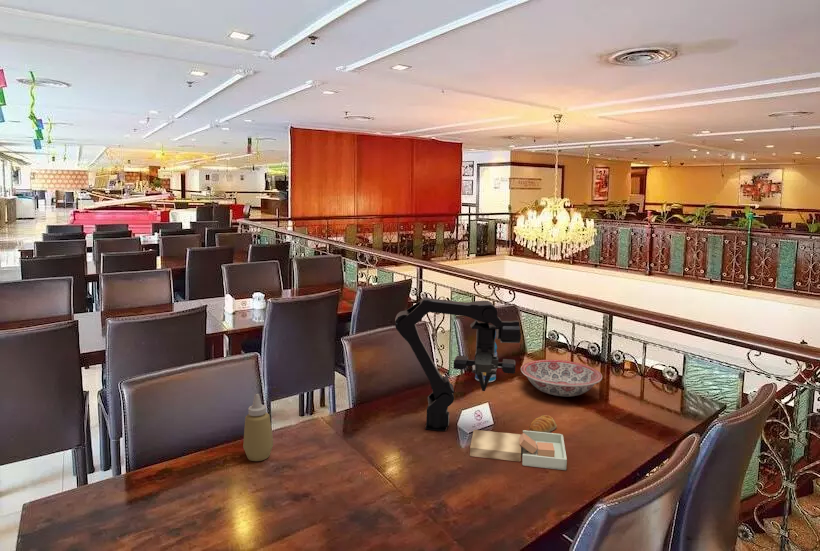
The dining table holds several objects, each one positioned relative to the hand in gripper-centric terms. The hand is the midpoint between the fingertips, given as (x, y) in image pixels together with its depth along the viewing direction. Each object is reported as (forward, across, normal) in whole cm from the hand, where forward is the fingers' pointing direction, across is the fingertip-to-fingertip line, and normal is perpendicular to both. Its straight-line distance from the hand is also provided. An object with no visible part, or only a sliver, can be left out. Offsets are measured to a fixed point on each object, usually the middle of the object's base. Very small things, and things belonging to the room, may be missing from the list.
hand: (483, 390), depth 171 cm
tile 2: (+10, +19, -14) cm, 25 cm away
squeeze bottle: (+12, -59, -34) cm, 69 cm away
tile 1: (+10, +13, -14) cm, 22 cm away
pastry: (+12, +19, +3) cm, 23 cm away
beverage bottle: (+12, -2, +45) cm, 47 cm away
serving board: (+12, +5, -14) cm, 19 cm away
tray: (+12, +18, -14) cm, 26 cm away
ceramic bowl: (+12, +26, +38) cm, 48 cm away
